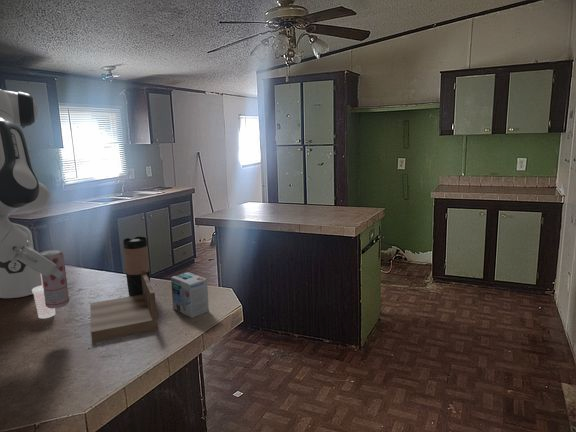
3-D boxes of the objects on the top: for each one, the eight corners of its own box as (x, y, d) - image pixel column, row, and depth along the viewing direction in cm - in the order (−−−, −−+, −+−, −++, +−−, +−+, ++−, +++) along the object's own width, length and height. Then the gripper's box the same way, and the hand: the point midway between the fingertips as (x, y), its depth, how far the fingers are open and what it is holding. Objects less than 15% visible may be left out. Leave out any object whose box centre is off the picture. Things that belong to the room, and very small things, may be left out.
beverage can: (44, 310, 111) (37, 256, 108) (47, 302, 116) (40, 250, 113) (68, 306, 113) (62, 253, 110) (70, 299, 118) (63, 248, 116)
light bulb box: (172, 308, 134) (169, 276, 131) (190, 302, 138) (188, 271, 136) (191, 318, 126) (189, 284, 124) (209, 311, 131) (208, 278, 129)
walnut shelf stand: (91, 312, 132) (87, 278, 130) (147, 302, 139) (144, 270, 137) (92, 342, 112) (87, 304, 110) (157, 329, 120) (154, 292, 117)
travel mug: (144, 299, 141) (139, 242, 137) (123, 298, 143) (118, 241, 139) (155, 291, 148) (151, 236, 145) (136, 290, 150) (131, 236, 146)
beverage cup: (30, 318, 129) (24, 274, 126) (48, 310, 134) (42, 268, 131) (45, 320, 126) (39, 276, 124) (62, 312, 132) (57, 270, 129)
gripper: (29, 241, 99) (78, 270, 107) (8, 227, 113) (52, 255, 121) (10, 263, 96) (61, 292, 105) (-10, 247, 110) (36, 273, 119)
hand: (56, 272), depth 113 cm, fingers closed on beverage can, 6 cm apart
